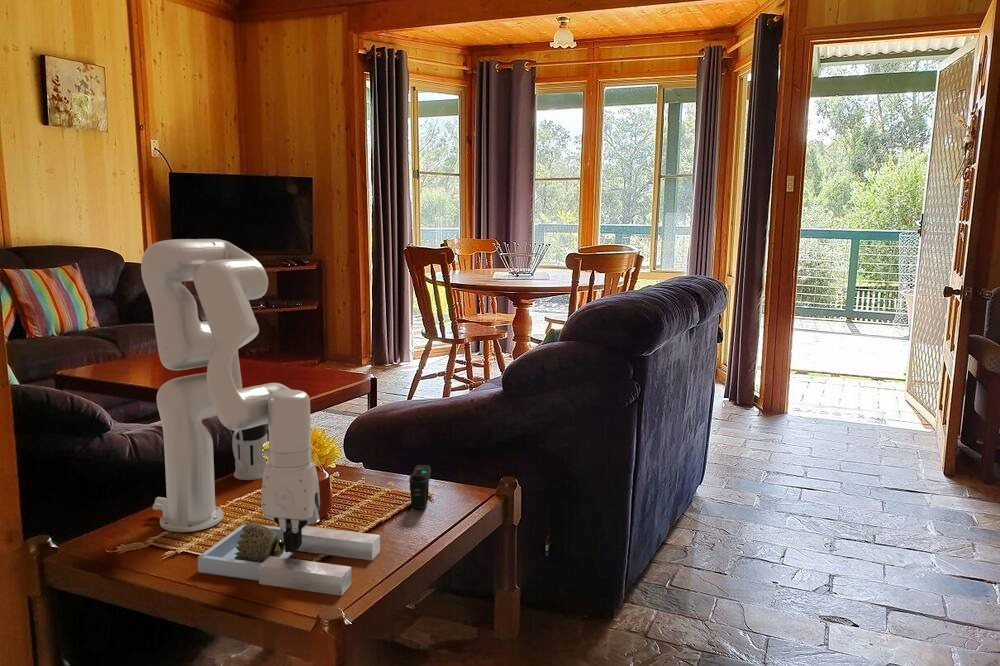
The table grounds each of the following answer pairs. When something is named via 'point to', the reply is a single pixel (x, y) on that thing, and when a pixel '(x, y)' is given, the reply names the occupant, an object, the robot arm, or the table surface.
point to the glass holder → (249, 452)
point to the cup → (258, 543)
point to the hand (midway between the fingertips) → (292, 549)
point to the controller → (420, 485)
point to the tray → (232, 557)
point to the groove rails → (316, 573)
